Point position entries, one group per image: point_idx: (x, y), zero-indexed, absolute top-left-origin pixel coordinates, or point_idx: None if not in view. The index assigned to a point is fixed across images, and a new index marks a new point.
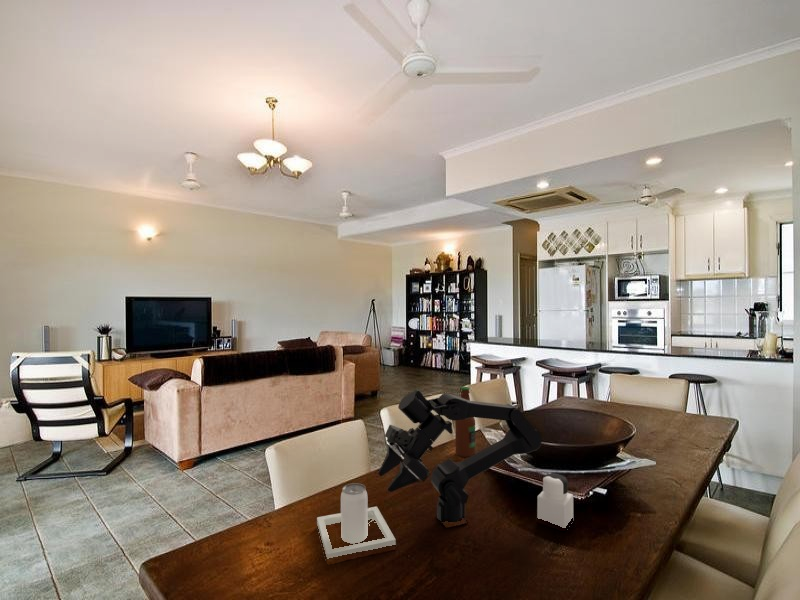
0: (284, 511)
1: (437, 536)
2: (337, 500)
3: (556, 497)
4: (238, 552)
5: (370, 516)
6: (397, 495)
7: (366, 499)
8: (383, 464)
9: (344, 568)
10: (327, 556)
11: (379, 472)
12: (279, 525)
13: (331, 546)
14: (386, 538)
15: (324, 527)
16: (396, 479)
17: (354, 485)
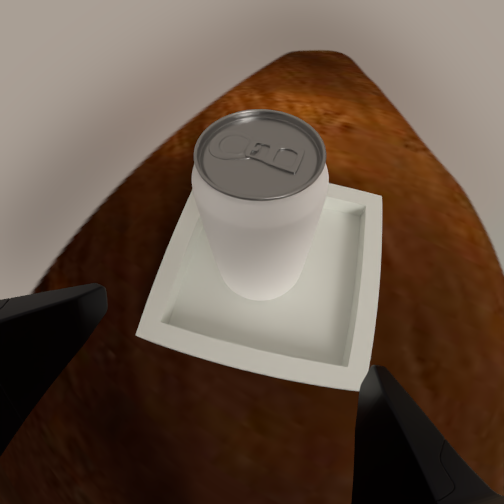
0: (452, 184)
1: (134, 473)
2: (474, 308)
3: None
4: (338, 97)
5: (343, 359)
6: None
7: (205, 217)
8: (402, 420)
9: (175, 203)
10: None
11: (373, 373)
12: (404, 158)
13: None
14: (157, 315)
15: None
16: (10, 301)
17: (307, 170)
